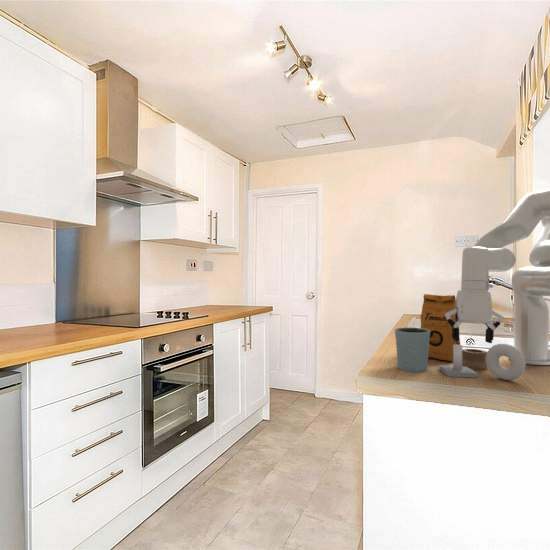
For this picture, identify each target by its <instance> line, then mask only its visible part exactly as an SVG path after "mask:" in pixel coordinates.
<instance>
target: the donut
mask: <svg viewBox="0 0 550 550" xmlns="http://www.w3.org/2000/svg"><path fill="white" fill-rule="evenodd" d="M486 352H487V354H486V365H487V370H488V371H490V372H491V374H492V375H493V376H495V377H496V378H497V379H500V380H503V381H514V380H518V379H519V378H520V377H521V376H523V375H524V372H525V370H526V366H527V364H525V359H524V357H523V355H522V353H521V352H520V351H519V350H518V349H517V348H515V347H514V346H513V345H511V344H509V343H497V344H495V345H494V344H493V345H492V346H491V347H490V348H488V350H487V351H486ZM501 357H506V358H508V360H509V361H510V366H509V367H504V366H503V365H502V364H501V363H500V358H501Z"/></svg>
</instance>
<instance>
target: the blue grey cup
mask: <svg viewBox="0 0 550 550" xmlns="http://www.w3.org/2000/svg"><path fill="white" fill-rule="evenodd" d="M394 335H395V346H396V348H395V349H396V360H397V362H396V363H397V364H396V365H397V369H398V368H399V371H400V370H401V371H403V372H410V373H425V372H427V371H428V360H429V357H428V351H429V339H430V330H427V329H422V328H421V327H406V326H405V327H397V328H395V329H394Z"/></svg>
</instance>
